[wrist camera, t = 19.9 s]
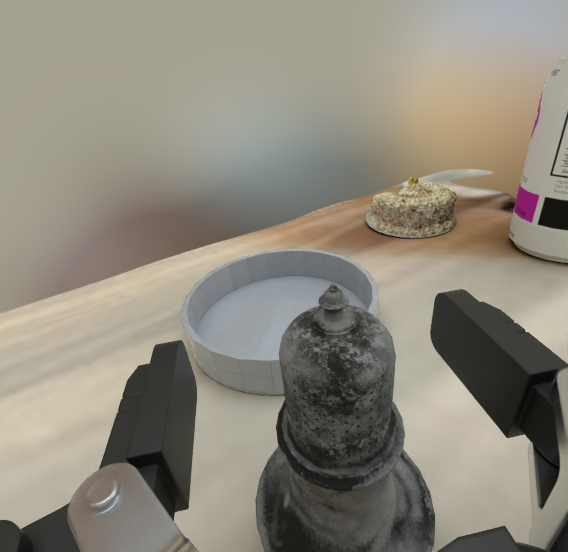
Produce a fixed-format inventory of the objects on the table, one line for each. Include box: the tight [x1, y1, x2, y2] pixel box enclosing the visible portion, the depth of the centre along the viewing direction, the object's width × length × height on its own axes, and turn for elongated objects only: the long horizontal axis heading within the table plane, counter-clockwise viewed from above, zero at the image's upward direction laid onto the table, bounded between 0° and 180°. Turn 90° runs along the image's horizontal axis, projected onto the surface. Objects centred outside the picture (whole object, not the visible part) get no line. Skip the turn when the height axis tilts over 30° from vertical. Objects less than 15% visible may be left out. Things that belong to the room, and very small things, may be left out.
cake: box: [365, 177, 457, 238], centre depth 39 cm, size 10×10×5 cm
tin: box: [181, 249, 379, 395], centre depth 25 cm, size 14×14×3 cm
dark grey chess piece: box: [256, 284, 435, 552], centre depth 10 cm, size 6×6×12 cm
